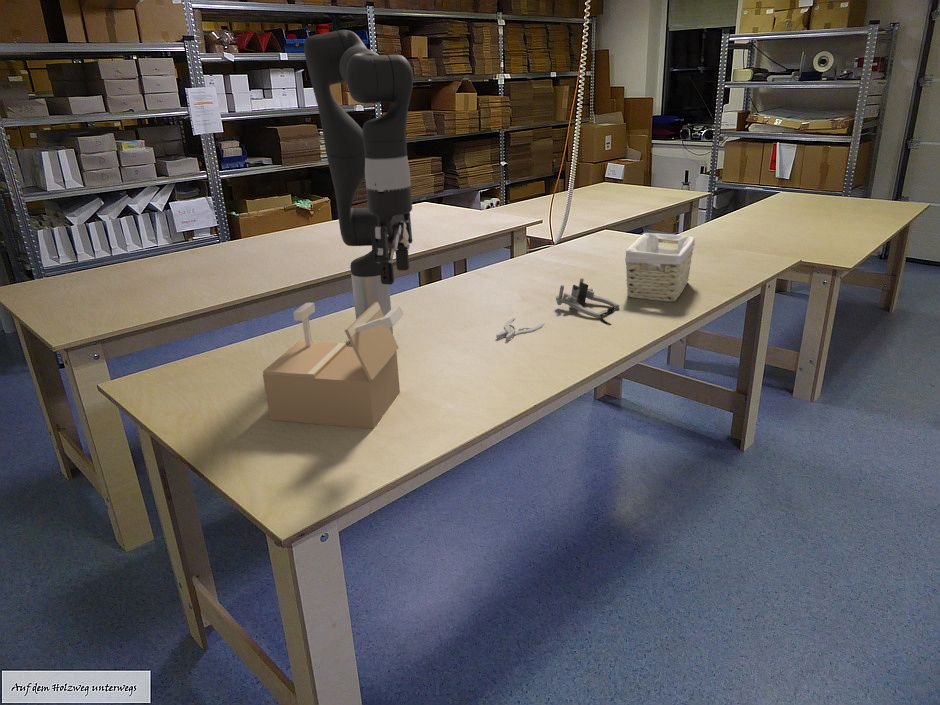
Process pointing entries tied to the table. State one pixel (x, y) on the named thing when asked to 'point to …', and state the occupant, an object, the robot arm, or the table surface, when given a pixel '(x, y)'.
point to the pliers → (511, 333)
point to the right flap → (374, 338)
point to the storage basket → (658, 267)
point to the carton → (327, 383)
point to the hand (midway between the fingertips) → (395, 276)
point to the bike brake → (579, 299)
